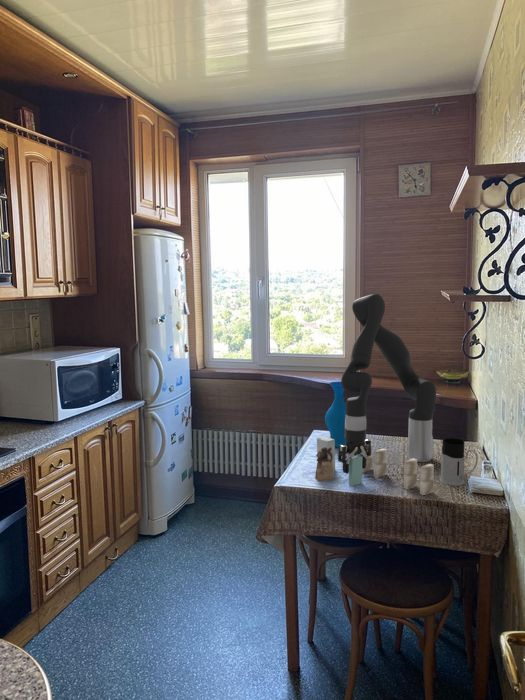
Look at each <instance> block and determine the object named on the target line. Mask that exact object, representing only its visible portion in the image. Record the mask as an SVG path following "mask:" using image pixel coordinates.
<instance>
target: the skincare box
mask: <svg viewBox="0 0 525 700" xmlns="http://www.w3.org/2000/svg"><path fill="white" fill-rule="evenodd" d="M324 446H325V447H326V448H327V449H329V448H330V447H331V448H332V450H331V451H330V452H331V453H332V455H333V458H332V463H333V468H334V470H335V469H336V450H335V449H336V447H335V440H334V439H331V438H330V437H327V436H320V437H317V438H316V452H317V453H316V455H317V454H318V451H319V450H320V449H321V448H322V447H324ZM328 457H329V458H330V459H331V457H330V456H329V455H328ZM316 462H317V463H318V461H317V460H316Z"/></svg>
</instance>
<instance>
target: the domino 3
mask: <svg viewBox="0 0 525 700" xmlns="http://www.w3.org/2000/svg"><path fill="white" fill-rule="evenodd" d="M373 451H374V452H373V454H374V455H373V477H374V478H376V479H378V478H381V477H383V476H386V475H387V457H388V456H387V455H388V454H387V451H388V450H387V449H386V448H380V449H376V450H373Z"/></svg>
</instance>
